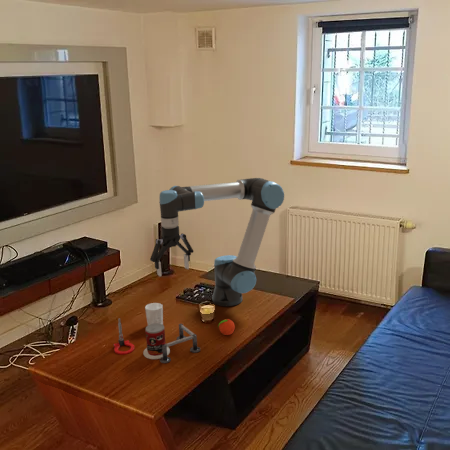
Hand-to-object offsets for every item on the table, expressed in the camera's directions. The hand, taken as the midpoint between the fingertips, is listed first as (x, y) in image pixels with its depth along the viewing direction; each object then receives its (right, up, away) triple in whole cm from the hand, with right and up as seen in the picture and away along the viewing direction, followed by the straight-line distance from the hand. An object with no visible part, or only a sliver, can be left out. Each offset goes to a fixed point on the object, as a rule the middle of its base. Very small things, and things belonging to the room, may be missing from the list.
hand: (173, 271), depth 244 cm
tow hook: (-20, -32, -11) cm, 39 cm away
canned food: (-6, -32, -15) cm, 36 cm away
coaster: (-6, -32, -14) cm, 36 cm away
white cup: (-9, -26, +9) cm, 29 cm away
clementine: (+23, -28, -1) cm, 36 cm away
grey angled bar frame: (+1, -32, -13) cm, 34 cm away
